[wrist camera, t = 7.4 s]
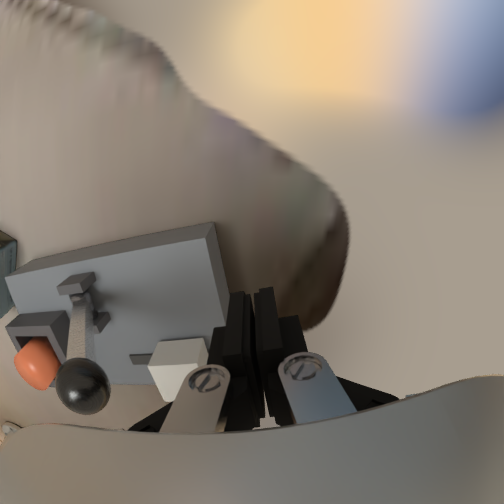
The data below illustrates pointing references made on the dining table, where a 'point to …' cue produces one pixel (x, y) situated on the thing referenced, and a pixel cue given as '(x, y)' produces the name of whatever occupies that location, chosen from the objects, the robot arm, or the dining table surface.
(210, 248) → the panel
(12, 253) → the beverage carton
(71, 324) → the lever
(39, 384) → the button
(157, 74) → the dining table surface
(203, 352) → the slider
